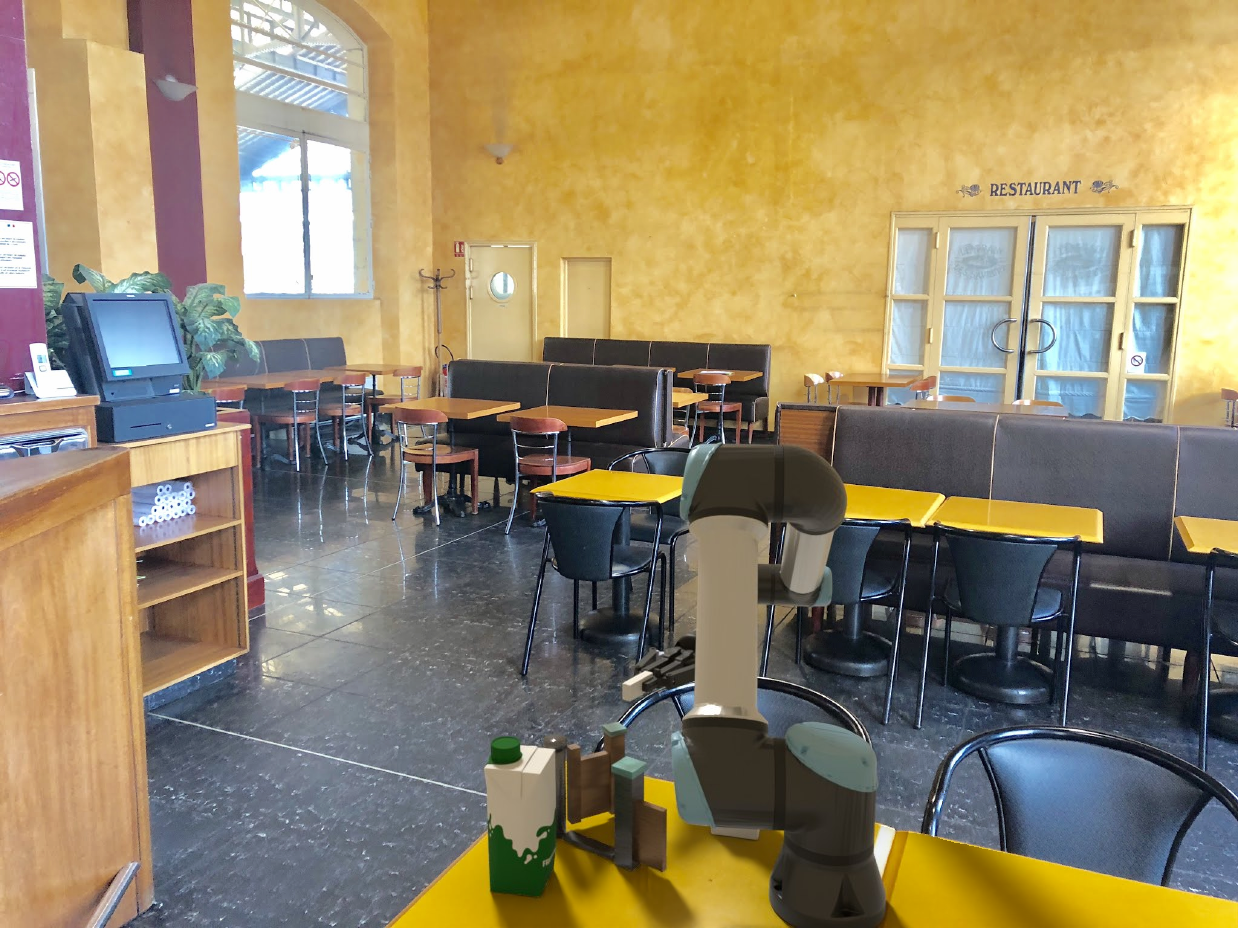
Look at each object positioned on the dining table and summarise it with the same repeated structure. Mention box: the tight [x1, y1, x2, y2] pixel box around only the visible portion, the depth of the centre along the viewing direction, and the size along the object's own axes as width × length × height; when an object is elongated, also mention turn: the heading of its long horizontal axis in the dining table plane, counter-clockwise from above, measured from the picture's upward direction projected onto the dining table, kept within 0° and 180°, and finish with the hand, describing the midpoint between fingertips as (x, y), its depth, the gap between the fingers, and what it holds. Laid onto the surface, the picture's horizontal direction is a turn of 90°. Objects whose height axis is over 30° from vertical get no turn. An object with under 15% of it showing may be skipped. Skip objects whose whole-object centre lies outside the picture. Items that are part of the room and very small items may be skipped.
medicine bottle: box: [710, 826, 761, 841], centre depth 143 cm, size 7×7×12 cm
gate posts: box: [542, 733, 668, 873], centre depth 136 cm, size 21×4×15 cm, turn 54°
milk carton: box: [483, 735, 557, 898], centre depth 129 cm, size 9×9×20 cm
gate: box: [566, 721, 628, 825], centre depth 144 cm, size 9×3×14 cm, turn 119°
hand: (626, 692), depth 150 cm, fingers closed
